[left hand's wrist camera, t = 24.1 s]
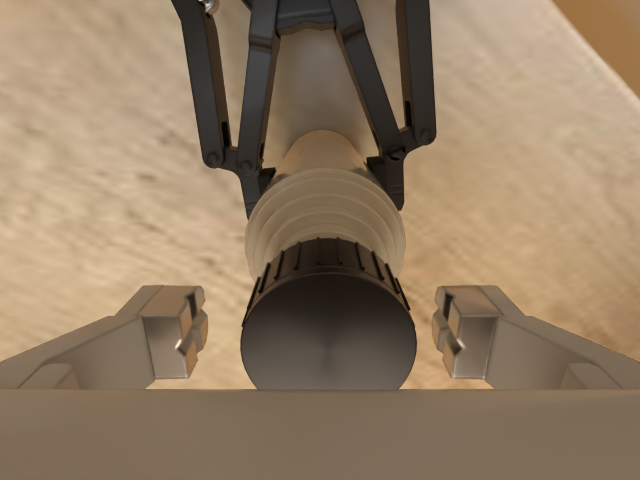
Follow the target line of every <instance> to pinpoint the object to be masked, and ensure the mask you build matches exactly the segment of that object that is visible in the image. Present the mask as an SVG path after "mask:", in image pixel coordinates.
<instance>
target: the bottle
mask: <svg viewBox="0 0 640 480" xmlns="http://www.w3.org/2000/svg"><path fill="white" fill-rule="evenodd" d="M316 237H320V238H336V237H340V239H343V240H348V241H351V242H354V243H356V242H359V245H362V246H364V247H366V248H367V249H369V250H371V251H373V250H374V251H375V252H376V254H377V256H378V257H380V258H381V259H382V260H383V261H384V263H385V264H386V263H388V264H389V266H390V268H391V271H392V273H393V276H394V278H396V277H397V278H398V276H399V274H400V271H401V268H402V264H403V258H404V252H405V232H404V227H403V223H402V219H401V217H400V214H399V212H398V210H397V208H396V206H395V205H394V203H393V202H392V200H391V199H390V197H389V196H388V194H387V193H386V192H385V190H384V189H383V187H382V186H381V184H380V183H379V182H378V180H377V179H376V177H375V176H374V174H373V173H372V172H371V170H370V169H369V167H368V166H367V165H366V163H365V162H364V160H363V159H362V157H361V156H360V155H359V153H358V152H357V150H356V149H355V147H354V146H353V145H352V143H351V142H350V141H349V140H348V139H347V138H345V137H344V136H343V135H341V134H339V133H337V132H334V131H330V130H315V131H311V132H308V133H306V134H304V135H302V136H301V137H299V138H298V139H297V140H296V141H295V142H294V143H293V144H292V146H291V147H290V149H289V151H288V152H287V154H286V156H285V157H284V159H283V161H282V162H281V164H280V166H279V167H278V169H277V171H276V172H275V174H274V176H273V177H272V179H271V181H270V182H269V184H268V185H267V187H266V189H265V190H264V192H263V194H262V195H261V197H260V199H259V200H258V202H257V204H256V205H255V207H254V209H253V211H252V213H251V215H250V218H249V220H248V224H247V227H246V234H245V252H246V258H247V261H248V266H249V270H250V273H251V276H252V278H253V280H254V282H255V283H256V280H257V278H258V276H259V277H261V275H262V273H263V271H264V270H265V267H266V264H267V262H269V263H270V262H271V261H272V260H273V259H274V258H275V257H276V256H277V255H279V253H280V251H281V250H283V251H284V250H286V249H288V248H289V247H291V246H293V245H296V244H297V242H299V241H300V242H304V241H307V240H312V239H316Z"/></svg>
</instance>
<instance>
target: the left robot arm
mask: <svg viewBox="0 0 640 480" xmlns="http://www.w3.org/2000/svg"><path fill="white" fill-rule="evenodd" d="M204 302H205V296H204V290H203V288H202V287H201V286H175V285H165V286H164V285H146V286H142V287H141V288H140V289H139V291H138V292H137V293H136V294H135V295H134V296H133V297H132V298H131V299H130V300H129V301H128V302H127V303H126V304H125V305H124V306H123V307H122V308H121V309H120V311H119V312H118V313H117V314H116V315H115V316H107V317H105V318H103V319H100V320H98V321H95V322H93V323H91V324H88V325H86V326H84V327H81V328H79V329H77V330H74V331H72V332H70V333H67V334H65V335H63V336H60V337H58V338H56V339H53V340H51V341H48V342H46V343H44V344H41V345H39V346H37V347H34V348H32V349H30V350H27V351H25V352H23V353H20V354H18V355H16V356H13V357H11V358H9V359H6V360H4V361H2V362H0V480H640V362H638V361H636V360H634V359H631V358H629V357H626V356H624V355H622V354H619V353H617V352H615V351H612V350H610V349H608V348H605V347H603V346H601V345H598V344H596V343H594V342H591V341H589V340H587V339H584V338H582V337H580V336H577V335H575V334H573V333H570V332H568V331H566V330H563V329H561V328H559V327H556V326H554V325H552V324H549V323H547V322H545V321H542V320H540V319H537V318H535V317H533V316H525V315H524V314H523V313H522V312H521V311H520V309H519V308H518V307H517V306H516V305H515V304H514V303H513V302H512V301H511V300H510V299H509V298H508V297H507V296H506V295H505V294H504V293H503V292H502V290H501V289H500V288H499V287H498V286H495V285H462V286H439V287H438V288H437V291H436V295H435V302H436V304H437V306H438V308H439V309H438V310H437V311H436V312H435V313H434V314H433V319H432V336H433V340H434V343H435V345H436V348H437V349H438V350H439V351H441V352H442V353H443V359H442V361H443V363H444V365H445V367H446V369H447V371H448V373H449V376H450V378H451V379H485V381H486V382H487V383H488V384H490V385H491V386H492V387H493V388H495V389H146V388H147V387H148V386H149V385H151V384H152V383H153V382H154V381H155V379H187V378H190V376H191V373H192V371H193V369H194V367H195V365H196V363H197V361H198V359H197V353H198V352H199V351H201V350H202V349H203V348H204V345H205V343H206V340H207V334H208V318H207V314H206V313H205V312H204V311H203V310H202V309H201V308H202V306H203V304H204Z"/></svg>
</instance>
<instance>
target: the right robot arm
mask: <svg viewBox="0 0 640 480" xmlns="http://www.w3.org/2000/svg"><path fill="white" fill-rule="evenodd" d="M171 1H172V3H173V5H174V8H175V10H176V12H177V14H178V16H179V18H180V20H181V24H182V31H183V37H184V43H185V50H186V56H187V63H188V69H189V75H190V82H191V88H192V94H193V101H194V107H195V113H196V120H197V126H198V133H199V139H200V145H201V152H202V158H203V161H204V163H205V164H206V165H207V166H208V167H210V168H214V169H215V168H221V169H225V170H230V171H232V172H234V173H235V174H236V175H237V176H238V177H239V179H240V182H241V187H242V192H243V198H244V203H245V208H246V214H247V219H248V220H249V218H250V215H251V213H252V211H253V209H254V207H255V205H256V204H257V202H258V200H259V199H260V197H261V195H262V194H263V192H264V190H265V189H266V187H267V185H268V184H269V182H270V181H271V179H272V177H273V176H274V174H275V172H276V169H275V167H274V168H265V169H263V168H262V163H263V161H264V159H263V154H264V147H265V140H266V133H267V126H268V118H269V111H270V104H271V97H272V90H273V83H274V76H275V69H276V62H277V56H278V52H279V47H280V41H281V35H288V34H294V33H296V32H298V31H301V30H303V29H305V28H310V29H315V30H329V29H333V31H334V33H335V36H336V39H337V41H338V44H339V46H340V48H341V50H342V53H343V56H344V58H345V61H346V64H347V66H348V69H349V72H350V74H351V77H352V80H353V83H354V85H355V88H356V91H357V93H358V96H359V99H360V101H361V104H362V107H363V110H364V112H365V115H366V118H367V120H368V123H369V126H370V129H371V131H372V134H373V137H374V139H375V142H376V145H377V147H378V150H379V156H375V157H367V166H368V167H369V169H370V170H371V172H372V173H373V174H374V176H375V177H376V179H377V180H378V182H379V183H380V184H381V186H382V187H383V189H384V190H385V192H386V193H387V194H388V196H389V197H390V199H391V200H392V202H393V203H394V205H395V206H396V208H397V210H398V211H401V210H402V207H403V204H404V176H403V161H404V159H405V157H406V156H407V154H408V153H409V152H410V151H412V150H414V149H416V148H418V147H420V146H423V145H429V144H431V143H432V142H433V141H434V139H435V138H436V115H435V97H434V79H433V61H432V43H431V25H430V7H429V0H396V24H397V36H398V48H399V60H400V72H401V83H402V95H403V107H404V119H405V127H403V128H401V129H398V126H397V123H396V120H395V118H394V115H393V112H392V109H391V106H390V103H389V100H388V97H387V94H386V91H385V88H384V86H383V83H382V80H381V77H380V74H379V71H378V68H377V65H376V62H375V59H374V56H373V54H372V51H371V48H370V45H369V42H368V39H367V36H366V33H365V27H364V23H363V19H362V16H361V14H360V11H359V8H358V5H357V2H356V0H241V1H242V2H243V3H244V4H245V5H246V6H247V8H248V9H249V10H250V11H251V18H250V27H249V53H248V61H247V70H246V79H245V88H244V96H243V105H242V114H241V122H240V131H239V140H238V147H234V146H232V142H231V134H230V126H229V118H228V111H227V103H226V95H225V87H224V79H223V71H222V63H221V55H220V48H219V40H218V34H217V28H216V25H215V21H214V18H213V16H212V15H213V14H215V13H216V12H217V10H218V9H219V3H220V2H219V0H171Z"/></svg>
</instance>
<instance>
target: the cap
mask: <svg viewBox="0 0 640 480" xmlns="http://www.w3.org/2000/svg"><path fill="white" fill-rule="evenodd" d="M409 310H411V309H410V307H409V305H408V302H407V300H406V298H405V295H404V293H403V291H402V288H401V286H400V284H399V281H398V279H397V277H396V278H394V276H393V273H392V271H391V268H390V266H389V264H388V263H386V264H385V263H384V261H383V260H382V259H381V258H380V257H378V256H377V254H376V252H375V251H374V250H373V251H371V250H369V249H367V248H366V247H364V246H362V245H359V242H356V243H354V242H351V241H348V240H343V239H340V237H336V238H320V237H316V239H312V240H307V241H304V242H300V241H299V242H297V244H296V245H293V246H291V247H289V248H288V249H286V250H284V251H283V250H281V251H280V253H279V255H277V256H276V257H275V258H274V259H273V260H272V261H271V262H270V263H269V262H267V264H266V267H265V270H264V271H263V273H262V275H261V277H259V276H258V278H257V280H256V283H255V286H254V289H253V292H252V295H251V298H250V300H249V303H248V306H247V311H246V314H245V317H244V320H243V323H242V327H243V329H242V334H241V340H240V350H241V356H242V361H243V364H244V367H245V370H246V372H247V374H248V376H249V378H250V379H251V381H252V382H253V384H254V385H255V386H256V388H257V389H399V388H400V387H401V386H402V384H403V383H404V382H405V380H406V379H407V377H408V375H409V373H410V371H411V369H412V366H413V364H414V361H415V356H416V349H417V339H416V331H415V325H414V322H413V320H412V317H411V315H410V313H409Z"/></svg>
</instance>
